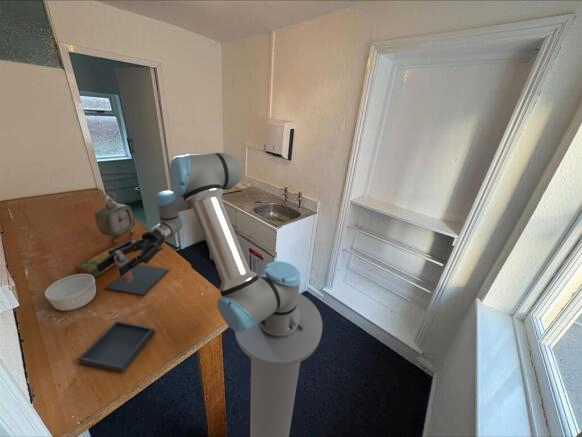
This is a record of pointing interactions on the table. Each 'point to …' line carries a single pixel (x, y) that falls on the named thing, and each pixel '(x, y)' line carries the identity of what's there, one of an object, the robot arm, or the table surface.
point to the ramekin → (71, 292)
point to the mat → (138, 280)
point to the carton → (93, 264)
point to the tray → (117, 346)
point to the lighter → (120, 261)
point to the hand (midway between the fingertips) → (109, 270)
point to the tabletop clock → (114, 218)
